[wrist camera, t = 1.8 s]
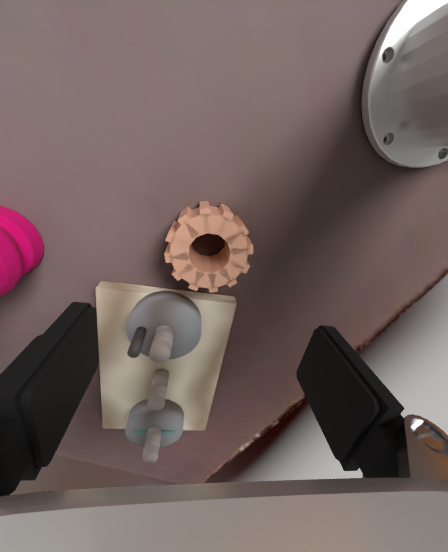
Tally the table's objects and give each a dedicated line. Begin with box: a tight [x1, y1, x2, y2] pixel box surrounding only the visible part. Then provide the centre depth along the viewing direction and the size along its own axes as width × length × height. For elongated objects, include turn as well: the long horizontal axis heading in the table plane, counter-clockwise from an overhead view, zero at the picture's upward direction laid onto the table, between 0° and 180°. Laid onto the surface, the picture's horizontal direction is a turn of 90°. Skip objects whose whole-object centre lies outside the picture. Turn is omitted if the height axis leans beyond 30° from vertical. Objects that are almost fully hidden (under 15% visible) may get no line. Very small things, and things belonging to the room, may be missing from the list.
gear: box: [164, 201, 253, 293], centre depth 21 cm, size 7×7×4 cm
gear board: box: [96, 281, 237, 463], centre depth 26 cm, size 14×23×6 cm, turn 169°
